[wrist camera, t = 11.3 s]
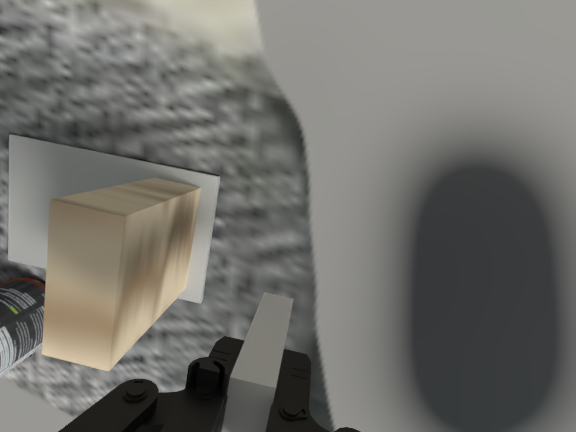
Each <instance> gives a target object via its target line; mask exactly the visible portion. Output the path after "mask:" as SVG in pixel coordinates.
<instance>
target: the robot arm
mask: <svg viewBox="0 0 576 432" xmlns="http://www.w3.org/2000/svg"><path fill="white" fill-rule="evenodd" d="M292 304H293V299H292V298H287V297H283V296H278V295H274V294H270V293H265V292H264V294H263V297H262V299H261V302H260V304H259V307H258V309H257V312H256V314H255V316H254V319H253V321H252V324H251V326H250V329H249V331H248V334H247V336H246V339H245V341H244V340H239V339H235V338H231V337H226V336H224V337H223V338H221V339H220V340H218V341H217V342H216V343H215V345H214V347H213V349H212V351H211V353H210V354H209V357H203V358H199V359H196V360H194V361H193V362H192V363H191V364H190V365H189V367H188V374H187V381H186V387H185V389H184V390H181V391H178V392H169V393H158V388H157V386H156V384H154V383H153V382H152V381H149V380H146V379H133V380H129V381H126V382H124V383H122V384H120V385H119V386H118V387H116V388H115V389H114V390H112V391H111V392H110V393H108V394H107V395H106V396H104V397H103V398H102V399H100V400H99V401H98V402H97V403H95V404H94V405H93V406H91V407H90V408H89V409H87V410H86V411H85V412H83V413H82V414H81V415H80V416H78V417H77V418H76V419H74V420H73V421H72V422H70V423H69V424H68V425H66V426H65V427H64V428H63V429H61V430H60V431H59V432H329V431H328V430H326V429H324V428H323V427H321V426H319V425H318V424H317V423H316V422H315V421H314V419H313V418H312V416H311V414H310V411H309V395H310V377H311V361H310V359H309V357H308V356H307V354H304V353H299V352H295V351H291V350H286V349H284V345H285V340H286V335H287V330H288V325H289V319H290V314H291V309H292ZM335 432H360V431H358V430H356V429H353V428H348V427H345V428H339V429H338V430H336V431H335Z"/></svg>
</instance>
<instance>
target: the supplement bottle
mask: <svg viewBox="0 0 576 432" xmlns="http://www.w3.org/2000/svg"><path fill="white" fill-rule="evenodd" d="M44 303H45V284H44V283H43V282H41V281H39V280H37V279H33V278H27V277H21V278H14V279H11V280H8V281H6V282H4V283H1V284H0V377H1V376H3V375H4V374H6V373H7V372H8V371H10V370H11V369H12V368H14V367H15V366H16V365H18V364H19V363H20V362H22V361H23V360H24V359H26V358H27V357H29V356H32V355H31V354H32V353H34V352H35V351H37V350H38V349H39V348H40V347H42V341H43V322H44Z"/></svg>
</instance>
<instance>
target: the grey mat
mask: <svg viewBox="0 0 576 432" xmlns="http://www.w3.org/2000/svg"><path fill="white" fill-rule="evenodd" d="M150 178H159V179H164V180H168V181H173V182H177V183H182V184H186V185H191V186H195V187H200V188H201V192H200V199H199V205H198V212H197V218H196V225H195V232H194V238H193V245H192V251H191V258H190V265H189V271H188V278H187V284H186V289H185V290H184V291H183V292H182V293H181V294H180V295H179V296H178V297H177V298H178V299H183V300H187V301H192V302H196V303H201V302H202V300H203V293H204V286H205V279H206V272H207V265H208V259H209V252H210V245H211V238H212V231H213V224H214V218H215V211H216V204H217V197H218V190H219V183H220V176H215V175H211V174H206V173H201V172H196V171H191V170H186V169H181V168H176V167H171V166H166V165H161V164H156V163H152V162H147V161H142V160H137V159H132V158H127V157H122V156H117V155H112V154H107V153H102V152H97V151H92V150H88V149H83V148H78V147H73V146H68V145H63V144H58V143H53V142H48V141H43V140H38V139H33V138H29V137H24V136H19V135H13V134H9V204H8V260H9V261H13V262H18V263H22V264H27V265H31V266H36V267H40V268H45V269H46V266H47V247H48V228H49V209H50V199H55V198H59V197H64V196H69V195H74V194H78V193H83V192H88V191H93V190H98V189H102V188H107V187H112V186H117V185H121V184H126V183H131V182H136V181H140V180H145V179H150Z"/></svg>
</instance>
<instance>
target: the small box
mask: <svg viewBox="0 0 576 432" xmlns="http://www.w3.org/2000/svg"><path fill="white" fill-rule="evenodd" d="M200 192H201V188H200V187H195V186H191V185H186V184H182V183H177V182H173V181H168V180H164V179H159V178H150V179H145V180H140V181H136V182H131V183H126V184H121V185H117V186H112V187H107V188H102V189H98V190H93V191H88V192H83V193H78V194H74V195H69V196H64V197H59V198H55V199H50V209H49V228H48V247H47V266H46V284H45V303H44V322H43V341H42V355H46V356H50V357H54V358H58V359H62V360H66V361H70V362H74V363H78V364H81V365H85V366H89V367H93V368H97V369H101V370H105V371H109V370H110V369H111V368H112V367H113V366H114V365H115V364H116V363H117V362H118V361H119V360H120V358H121V357H122V356H123V355H124V354H125V353H126V352H127V351H128V350H129V349H130V348H131V347H132V346H133V345H134V343H135V342H136V341H137V340H138V339H139V338H140V337H141V336H142V335H143V334H144V333H145V332H146V331H147V330H148V328H149V327H150V326H151V325H152V324H153V323H154V322H155V321H156V320H157V319H158V318H159V317H160V316H161V315H162V313H163V312H164V311H165V310H166V309H167V308H168V307H169V306H170V305H171V304H172V303H173V302H174V301H175V300H176V298H177V297H178V296H179V295H180V294H181V293H182V292H183V291H184V290H185V289H186V284H187V278H188V271H189V265H190V258H191V251H192V245H193V238H194V232H195V225H196V218H197V212H198V205H199V199H200Z"/></svg>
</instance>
